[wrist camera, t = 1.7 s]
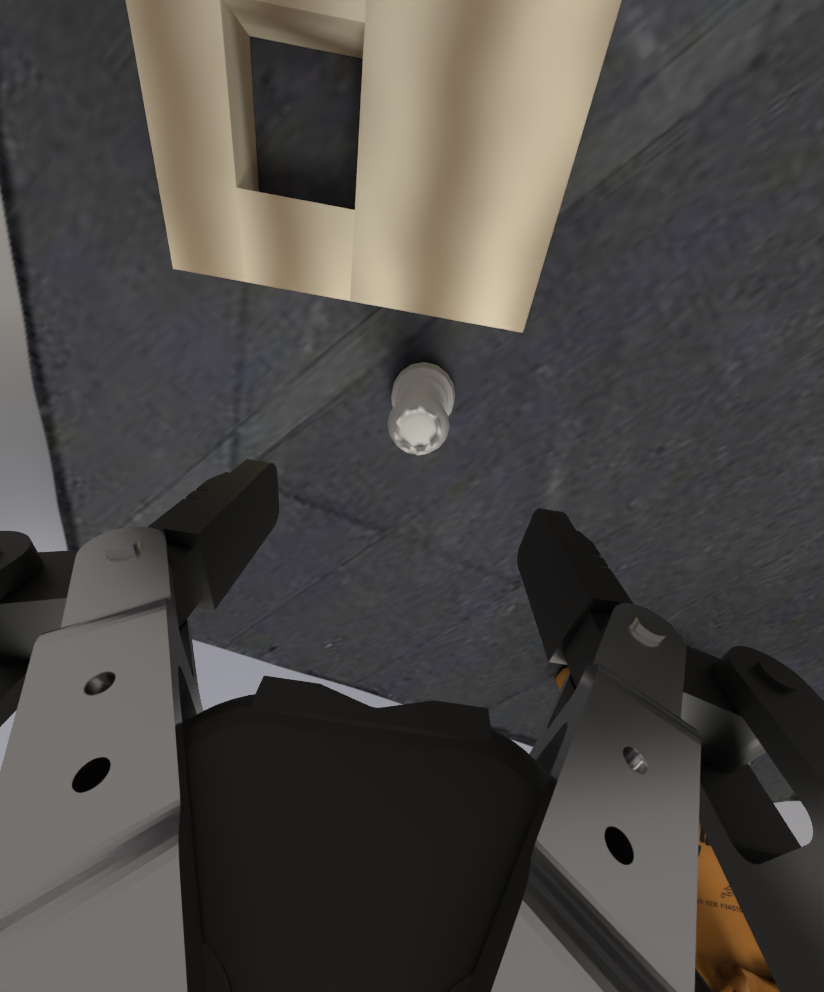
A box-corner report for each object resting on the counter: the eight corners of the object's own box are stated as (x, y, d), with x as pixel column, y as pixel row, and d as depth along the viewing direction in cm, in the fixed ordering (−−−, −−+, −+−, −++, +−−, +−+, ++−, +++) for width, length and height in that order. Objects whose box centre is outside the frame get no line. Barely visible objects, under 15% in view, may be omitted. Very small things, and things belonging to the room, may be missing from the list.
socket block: (617, -36, 14) (650, -98, 12) (514, 329, 21) (522, 332, 19) (143, -136, 13) (86, -220, 11) (200, 272, 21) (173, 268, 18)
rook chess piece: (379, 393, 24) (355, 429, 17) (424, 346, 22) (419, 365, 15) (421, 436, 25) (415, 487, 18) (467, 396, 23) (480, 434, 16)
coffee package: (605, 633, 35) (809, 1032, 16) (684, 676, 37) (940, 1060, 18) (539, 677, 39) (634, 1027, 20) (614, 712, 42) (760, 1051, 23)
